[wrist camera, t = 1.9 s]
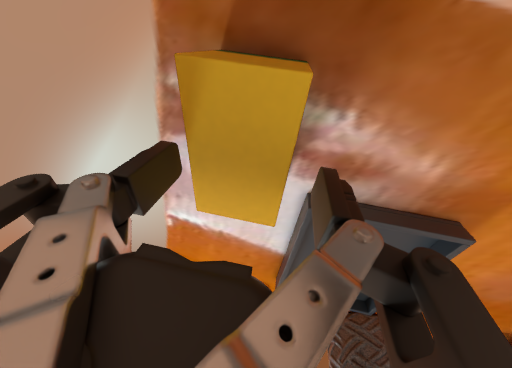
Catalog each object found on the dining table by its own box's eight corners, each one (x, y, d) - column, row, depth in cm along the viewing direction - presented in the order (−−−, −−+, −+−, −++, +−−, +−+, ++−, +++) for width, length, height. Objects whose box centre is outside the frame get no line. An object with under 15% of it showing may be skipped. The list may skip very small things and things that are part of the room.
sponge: (219, 49, 12) (173, 52, 7) (307, 61, 11) (314, 72, 7) (222, 168, 17) (196, 211, 13) (280, 179, 17) (274, 227, 12)
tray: (307, 193, 17) (308, 208, 15) (459, 222, 16) (477, 241, 14) (276, 278, 28) (274, 293, 26) (366, 299, 27) (370, 315, 25)
